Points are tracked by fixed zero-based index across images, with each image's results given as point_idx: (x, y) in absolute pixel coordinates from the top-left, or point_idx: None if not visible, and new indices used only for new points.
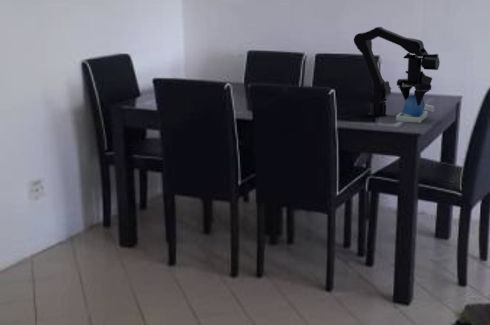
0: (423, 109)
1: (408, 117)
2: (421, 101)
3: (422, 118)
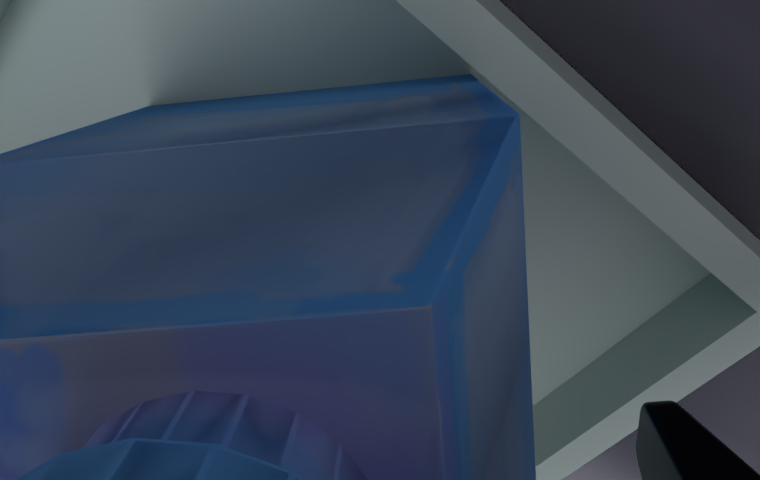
0: (491, 93)
1: (610, 433)
2: (505, 328)
3: (635, 133)
